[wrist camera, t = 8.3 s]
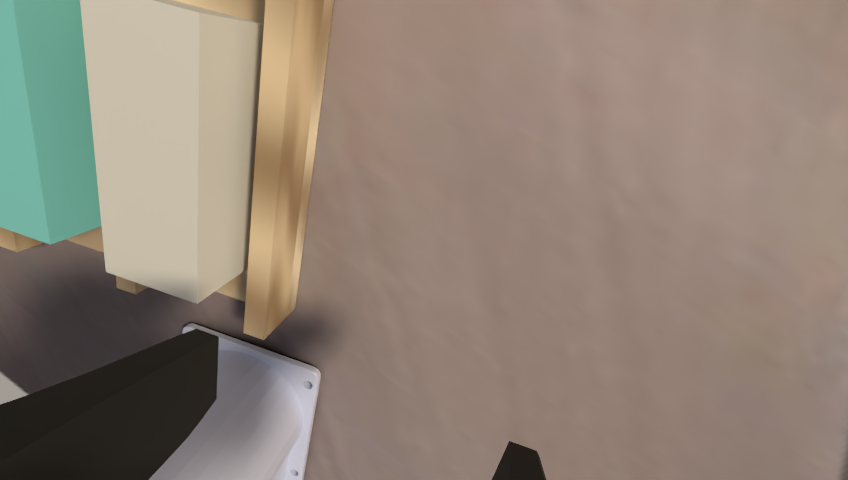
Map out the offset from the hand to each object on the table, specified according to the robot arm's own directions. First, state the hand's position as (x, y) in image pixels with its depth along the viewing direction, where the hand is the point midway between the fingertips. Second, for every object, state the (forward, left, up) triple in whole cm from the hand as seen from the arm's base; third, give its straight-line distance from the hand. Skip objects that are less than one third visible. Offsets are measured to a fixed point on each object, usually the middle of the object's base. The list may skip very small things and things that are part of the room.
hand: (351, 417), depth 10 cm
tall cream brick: (+3, +10, -9) cm, 13 cm away
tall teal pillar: (+3, +16, -9) cm, 19 cm away
